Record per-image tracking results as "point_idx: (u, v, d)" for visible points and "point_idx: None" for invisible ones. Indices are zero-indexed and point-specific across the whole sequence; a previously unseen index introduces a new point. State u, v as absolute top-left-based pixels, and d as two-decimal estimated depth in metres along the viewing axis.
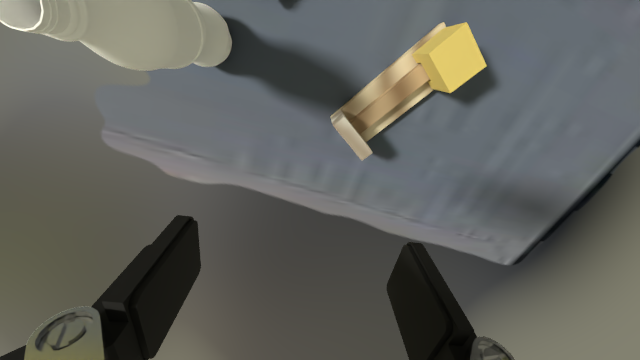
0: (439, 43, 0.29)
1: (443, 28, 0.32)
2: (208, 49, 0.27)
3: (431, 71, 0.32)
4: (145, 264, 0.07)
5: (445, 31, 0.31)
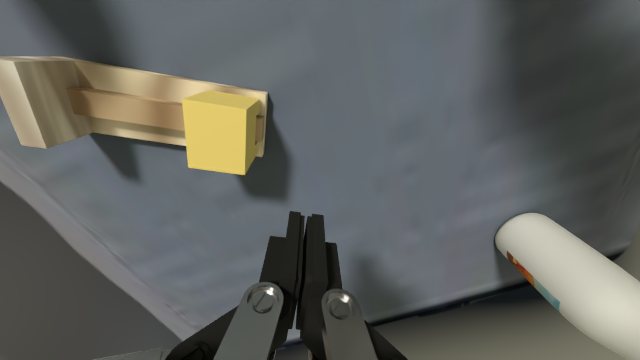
0: (206, 101, 0.19)
1: (258, 98, 0.24)
2: None
3: None
4: (292, 250, 0.09)
5: (244, 100, 0.22)
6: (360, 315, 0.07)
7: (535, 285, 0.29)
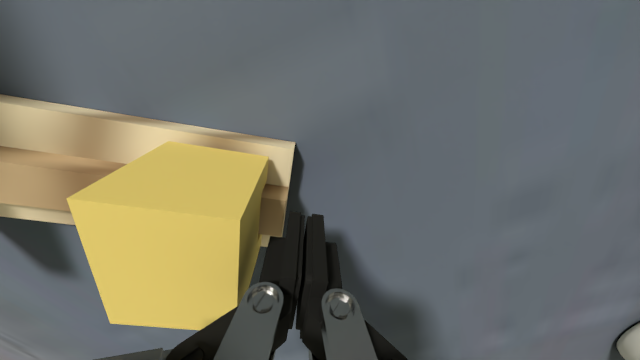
0: (139, 198, 0.08)
1: (265, 158, 0.12)
2: None
3: None
4: (292, 250, 0.09)
5: (237, 172, 0.10)
6: (360, 315, 0.07)
7: None
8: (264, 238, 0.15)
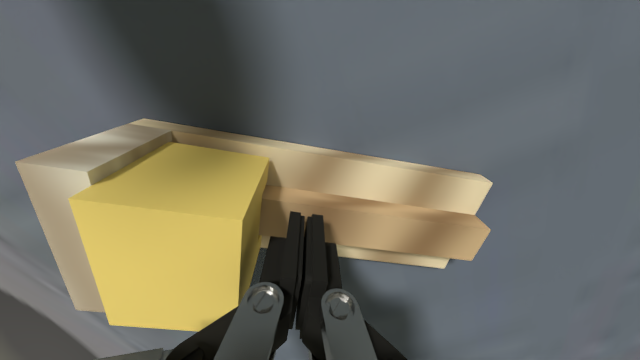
0: (141, 198, 0.08)
1: (266, 159, 0.12)
2: None
3: None
4: (292, 250, 0.09)
5: (239, 173, 0.10)
6: (360, 315, 0.07)
7: None
8: (433, 259, 0.17)
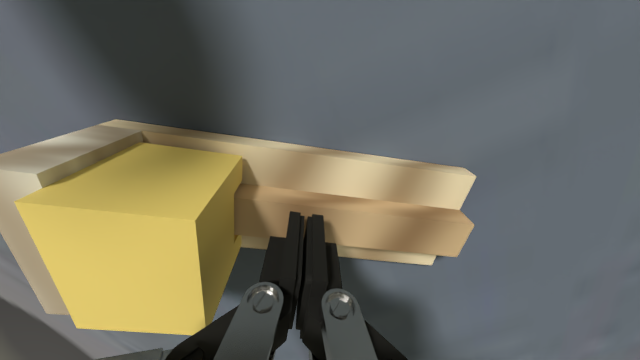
0: (92, 200, 0.07)
1: (238, 157, 0.12)
2: None
3: None
4: (291, 250, 0.09)
5: (205, 172, 0.10)
6: (360, 315, 0.07)
7: None
8: (420, 256, 0.16)
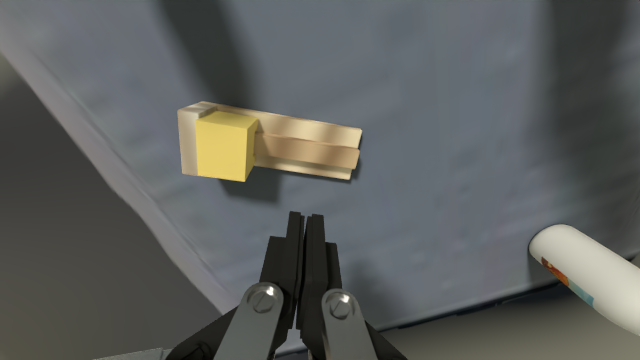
0: (215, 122, 0.24)
1: (256, 118, 0.28)
2: None
3: None
4: (292, 250, 0.09)
5: (245, 120, 0.26)
6: (360, 315, 0.07)
7: (569, 285, 0.35)
8: (342, 174, 0.33)
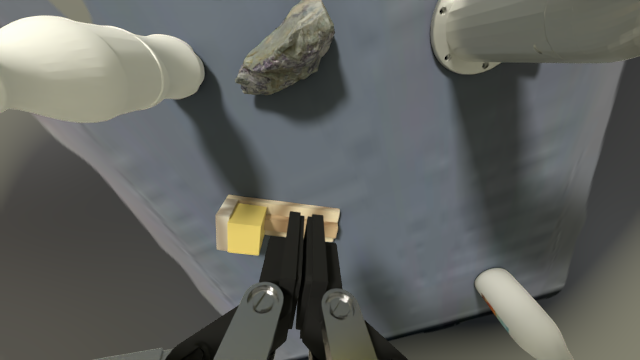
0: (239, 222, 0.36)
1: (265, 207, 0.41)
2: None
3: None
4: (292, 250, 0.09)
5: (258, 213, 0.39)
6: (360, 315, 0.07)
7: (497, 317, 0.47)
8: (327, 238, 0.45)
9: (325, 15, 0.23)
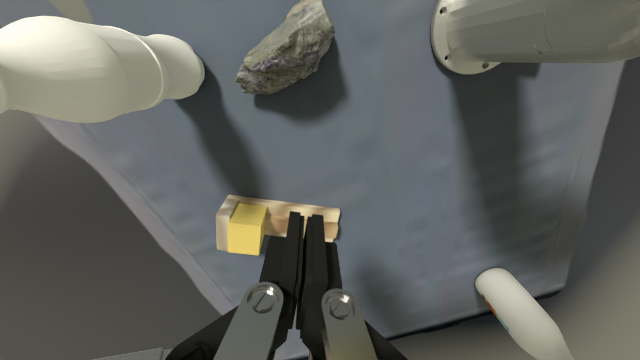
0: (239, 222, 0.36)
1: (266, 207, 0.41)
2: None
3: None
4: (292, 250, 0.09)
5: (258, 213, 0.39)
6: (360, 315, 0.07)
7: (497, 317, 0.47)
8: (327, 238, 0.45)
9: (325, 15, 0.23)
